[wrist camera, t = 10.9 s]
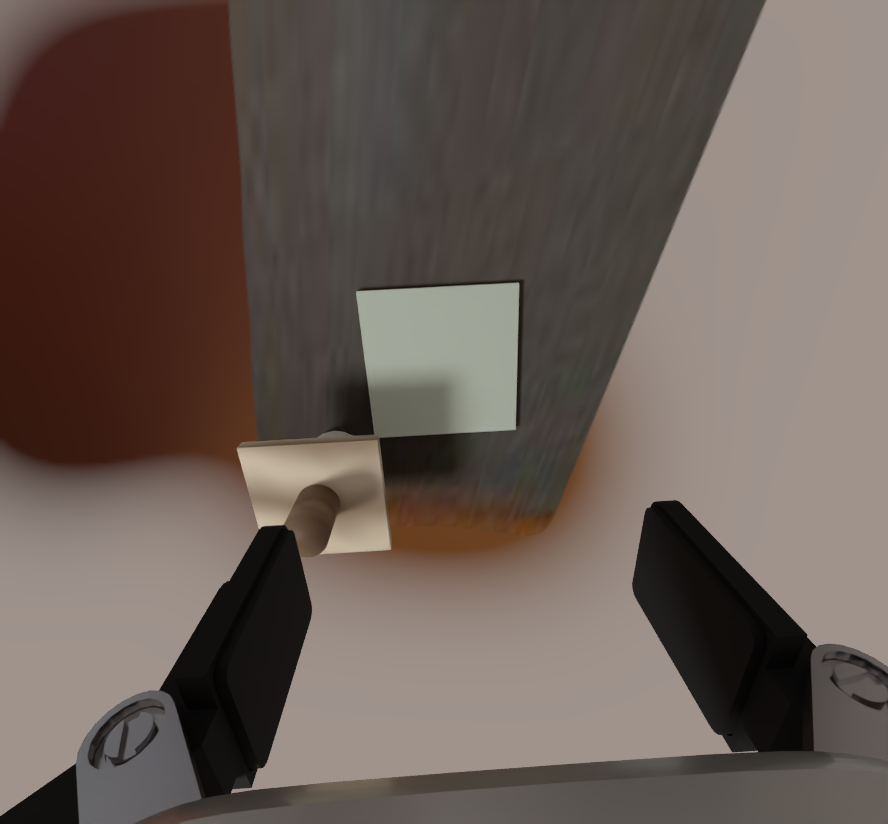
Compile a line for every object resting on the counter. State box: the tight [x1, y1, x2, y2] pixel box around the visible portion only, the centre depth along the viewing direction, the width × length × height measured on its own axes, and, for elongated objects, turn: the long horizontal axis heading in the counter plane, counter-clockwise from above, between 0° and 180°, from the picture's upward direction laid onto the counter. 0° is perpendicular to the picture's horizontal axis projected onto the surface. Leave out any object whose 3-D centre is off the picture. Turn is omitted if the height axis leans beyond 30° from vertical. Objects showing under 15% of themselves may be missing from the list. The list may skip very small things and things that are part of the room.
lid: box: [237, 434, 392, 557], centre depth 33 cm, size 11×11×6 cm
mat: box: [356, 282, 519, 438], centre depth 38 cm, size 14×14×1 cm
